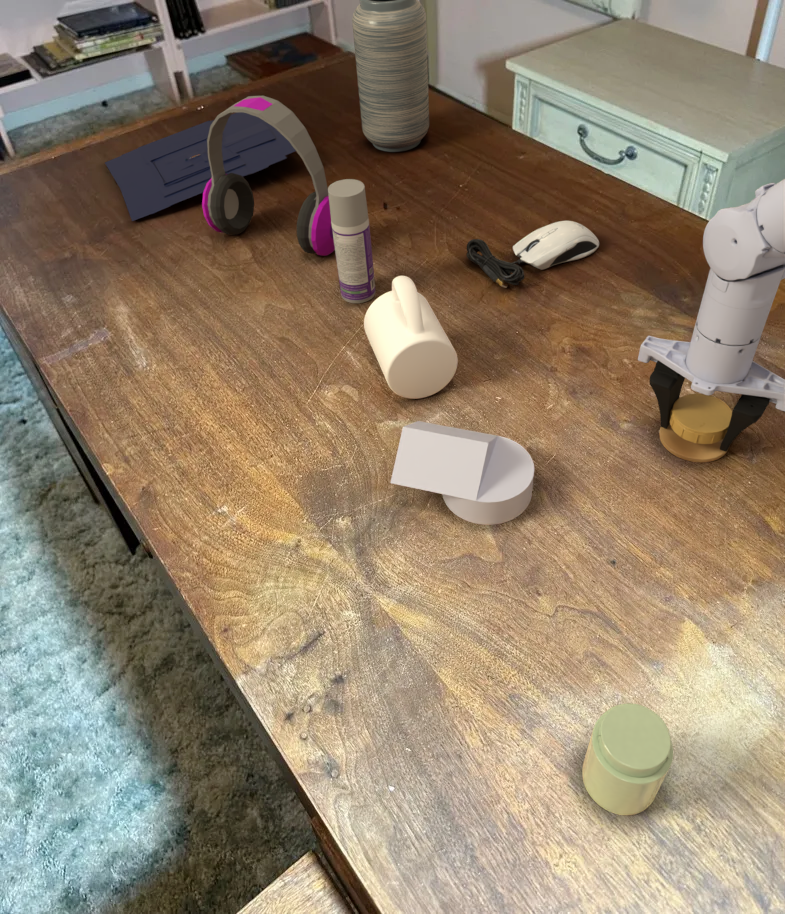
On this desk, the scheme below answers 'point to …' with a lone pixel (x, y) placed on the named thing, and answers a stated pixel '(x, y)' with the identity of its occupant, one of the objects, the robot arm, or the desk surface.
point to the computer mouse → (536, 251)
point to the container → (352, 240)
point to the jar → (627, 759)
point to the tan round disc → (689, 447)
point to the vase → (392, 72)
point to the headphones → (233, 197)
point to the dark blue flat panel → (193, 162)
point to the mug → (409, 342)
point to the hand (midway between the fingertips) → (695, 433)
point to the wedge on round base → (466, 471)
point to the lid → (700, 418)
